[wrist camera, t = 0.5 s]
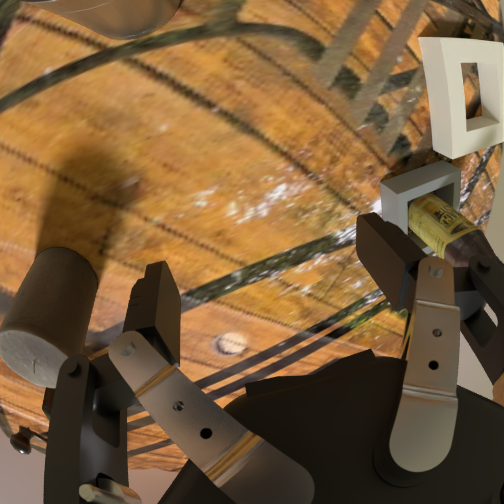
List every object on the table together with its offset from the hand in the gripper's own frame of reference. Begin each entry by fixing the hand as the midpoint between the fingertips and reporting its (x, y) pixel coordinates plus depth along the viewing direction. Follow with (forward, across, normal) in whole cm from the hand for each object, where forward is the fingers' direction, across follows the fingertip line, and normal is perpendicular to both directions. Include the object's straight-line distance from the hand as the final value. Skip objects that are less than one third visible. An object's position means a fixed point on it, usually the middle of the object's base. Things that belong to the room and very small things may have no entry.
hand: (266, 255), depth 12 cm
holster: (+22, -25, +14) cm, 36 cm away
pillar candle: (+19, +24, +10) cm, 32 cm away
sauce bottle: (+22, -25, +14) cm, 36 cm away
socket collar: (+22, -34, -4) cm, 41 cm away
